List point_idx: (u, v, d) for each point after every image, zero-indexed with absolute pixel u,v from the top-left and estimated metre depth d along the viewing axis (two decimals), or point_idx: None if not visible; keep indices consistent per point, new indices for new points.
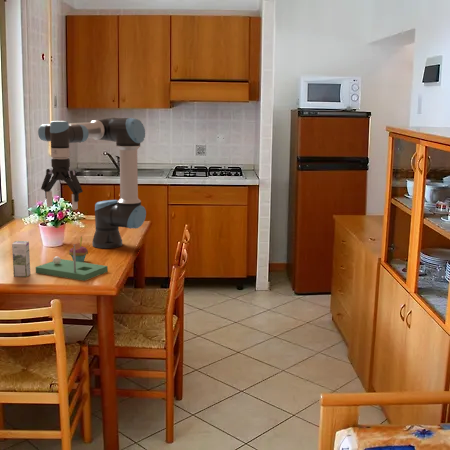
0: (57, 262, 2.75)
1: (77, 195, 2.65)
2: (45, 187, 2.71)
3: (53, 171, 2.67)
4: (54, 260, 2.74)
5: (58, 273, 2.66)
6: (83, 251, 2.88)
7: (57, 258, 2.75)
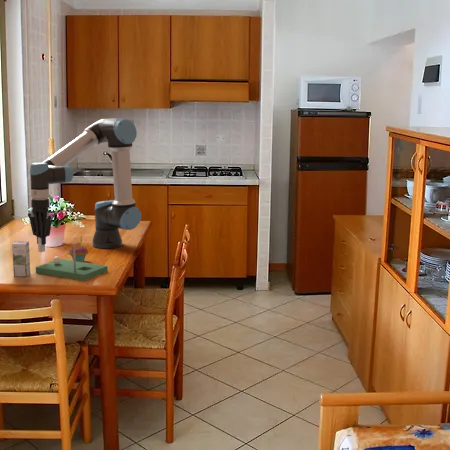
0: (57, 262, 2.75)
1: (44, 238, 2.76)
2: None
3: (33, 211, 2.75)
4: (54, 260, 2.74)
5: (58, 273, 2.66)
6: (83, 251, 2.88)
7: (57, 258, 2.75)
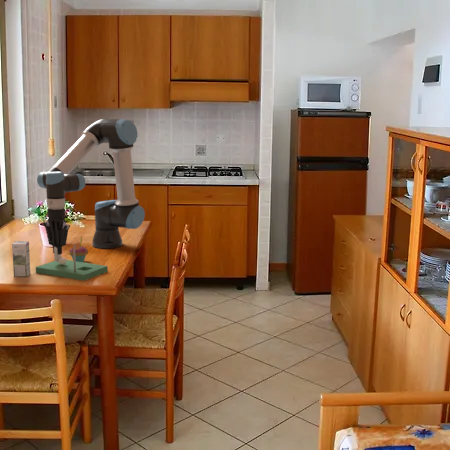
0: None
1: (60, 248, 2.74)
2: None
3: (49, 220, 2.72)
4: (60, 262, 2.73)
5: (58, 273, 2.66)
6: (83, 251, 2.88)
7: (63, 264, 2.74)
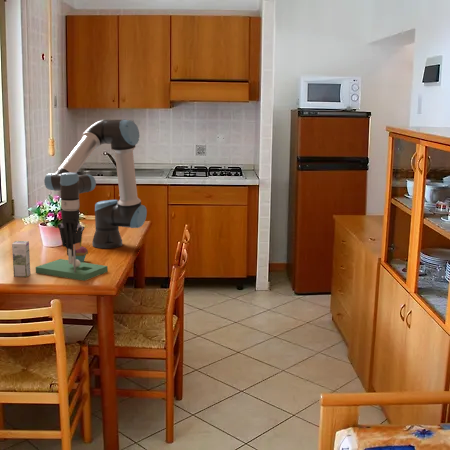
0: (77, 263, 2.70)
1: None
2: None
3: (63, 222, 2.69)
4: (73, 263, 2.70)
5: (58, 273, 2.66)
6: (83, 251, 2.88)
7: None
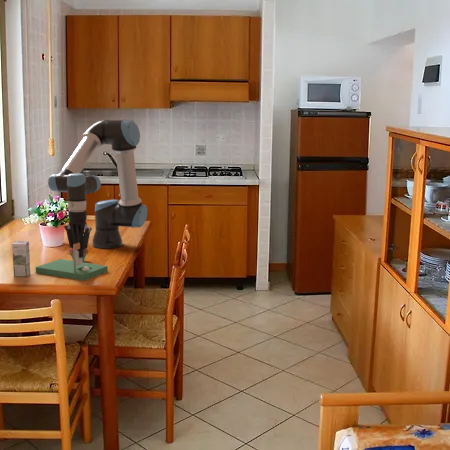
0: None
1: (82, 251, 2.69)
2: None
3: (70, 223, 2.68)
4: None
5: (58, 273, 2.66)
6: (83, 251, 2.88)
7: None
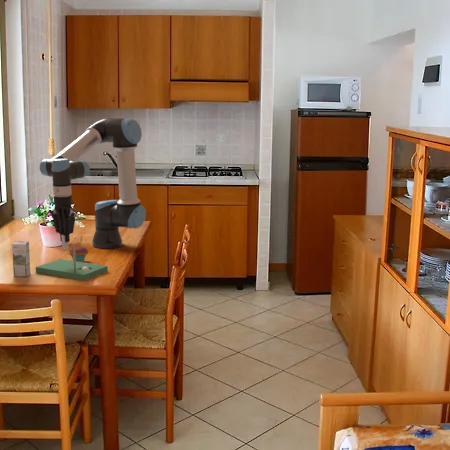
0: None
1: (68, 236, 2.71)
2: None
3: (55, 208, 2.70)
4: None
5: (58, 273, 2.66)
6: (83, 251, 2.88)
7: None
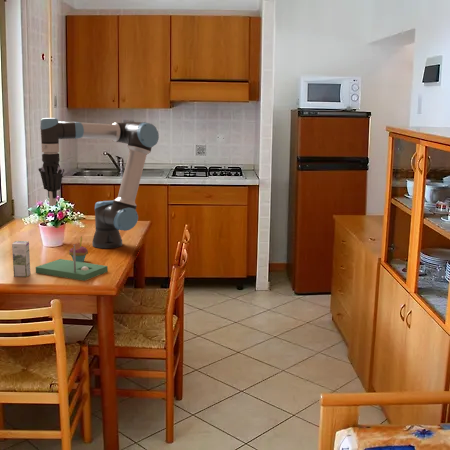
0: None
1: (55, 192, 2.84)
2: None
3: (44, 165, 2.82)
4: None
5: (58, 273, 2.66)
6: (83, 251, 2.88)
7: None
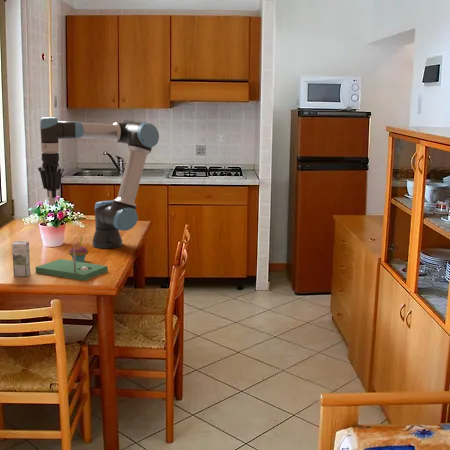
0: None
1: (55, 191, 2.84)
2: None
3: (43, 165, 2.83)
4: None
5: (58, 273, 2.66)
6: (83, 251, 2.88)
7: None
